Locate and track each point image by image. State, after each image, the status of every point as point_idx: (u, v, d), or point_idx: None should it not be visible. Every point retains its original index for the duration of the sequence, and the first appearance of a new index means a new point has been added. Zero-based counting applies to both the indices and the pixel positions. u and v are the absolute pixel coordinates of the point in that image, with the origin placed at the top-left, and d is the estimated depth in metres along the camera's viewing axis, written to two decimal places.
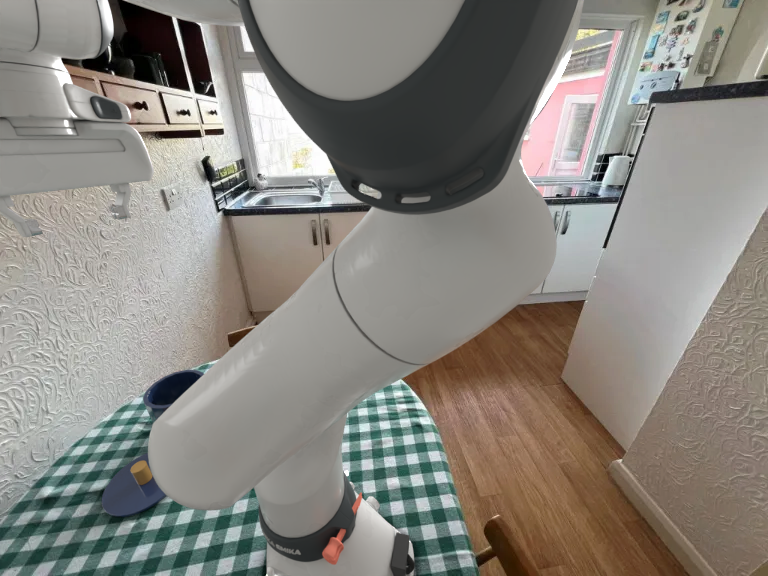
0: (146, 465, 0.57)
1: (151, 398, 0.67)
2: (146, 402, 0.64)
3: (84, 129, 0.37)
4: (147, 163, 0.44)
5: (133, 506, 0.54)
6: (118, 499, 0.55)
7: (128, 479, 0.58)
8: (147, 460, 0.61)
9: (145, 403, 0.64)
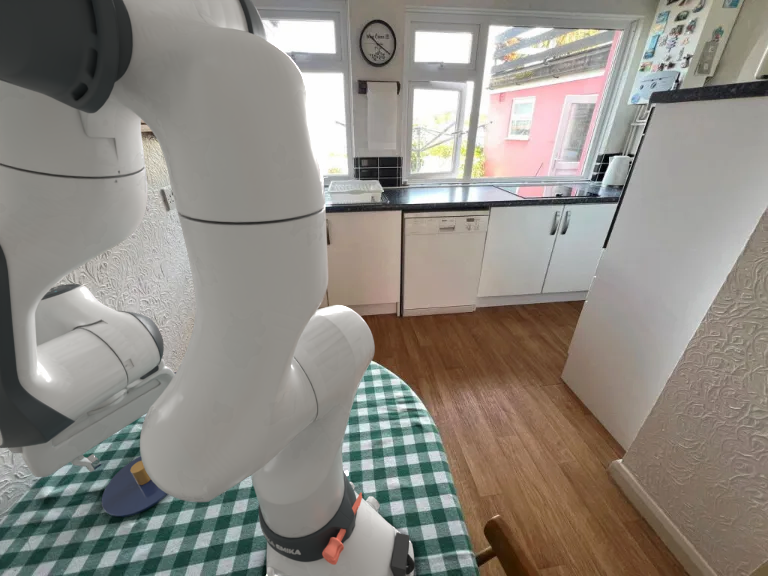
0: None
1: None
2: None
3: (132, 388, 0.51)
4: None
5: (133, 506, 0.54)
6: (118, 499, 0.55)
7: (128, 479, 0.58)
8: None
9: None
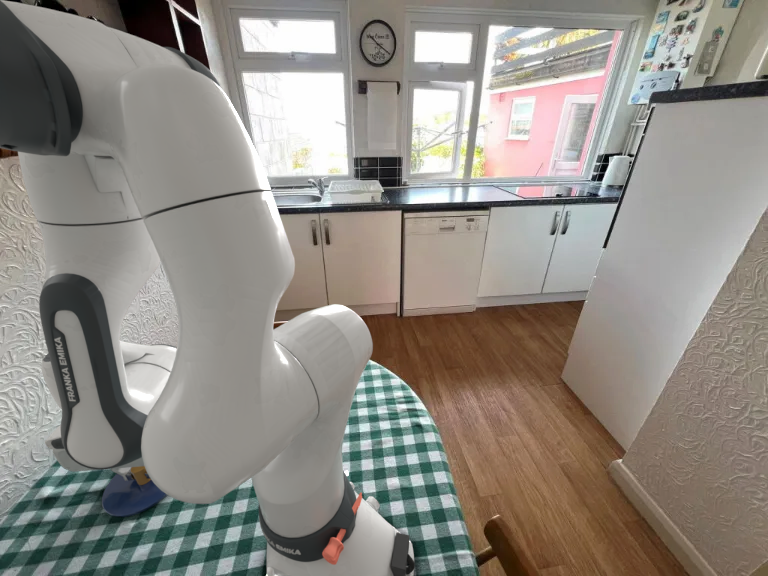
0: None
1: None
2: None
3: None
4: None
5: (133, 506, 0.54)
6: (118, 499, 0.55)
7: None
8: None
9: None
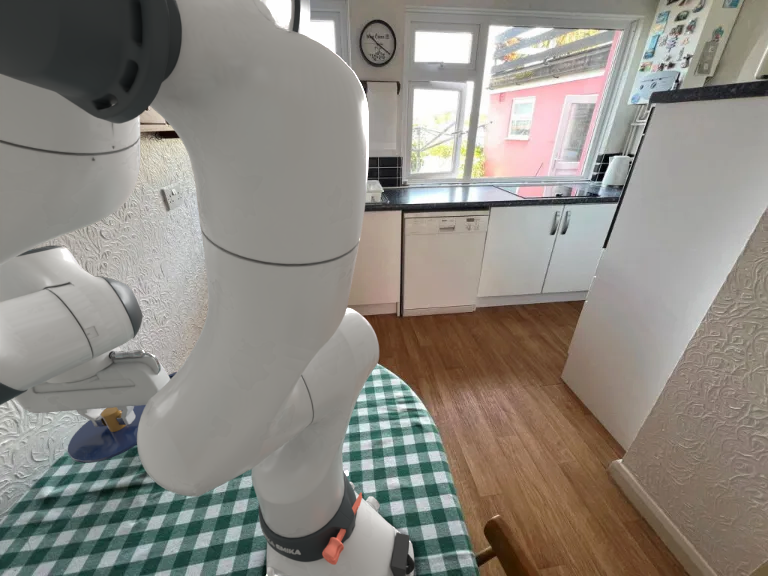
0: None
1: None
2: None
3: None
4: None
5: (102, 452, 0.48)
6: (86, 445, 0.49)
7: None
8: None
9: None
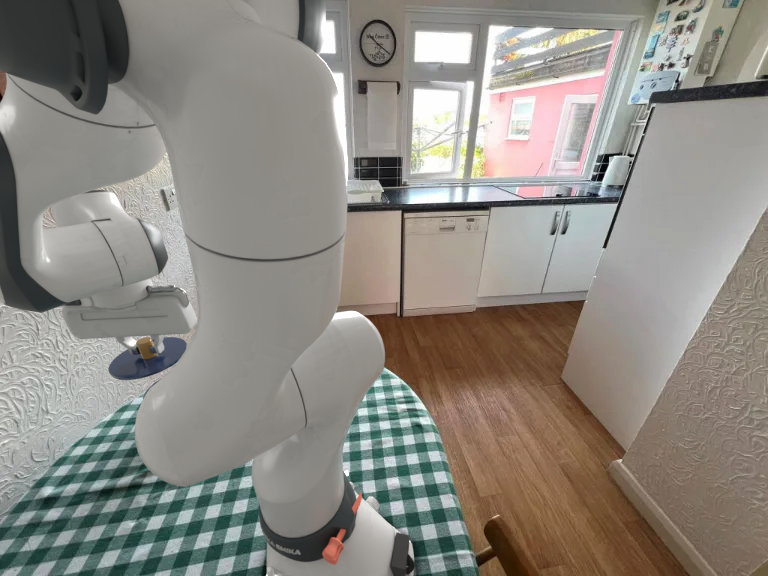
0: (151, 340, 0.59)
1: None
2: None
3: None
4: None
5: (139, 372, 0.56)
6: (124, 368, 0.57)
7: (133, 356, 0.60)
8: None
9: None
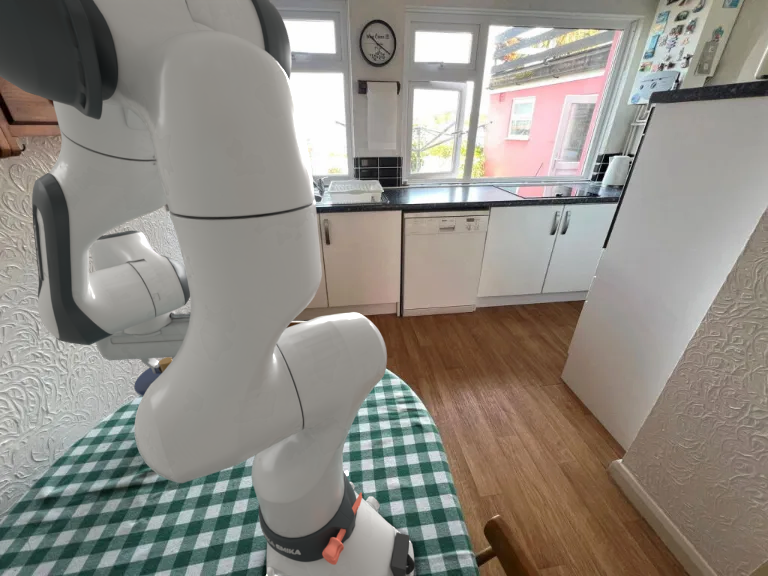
0: None
1: None
2: None
3: None
4: None
5: None
6: (148, 386, 0.63)
7: (156, 374, 0.66)
8: None
9: None
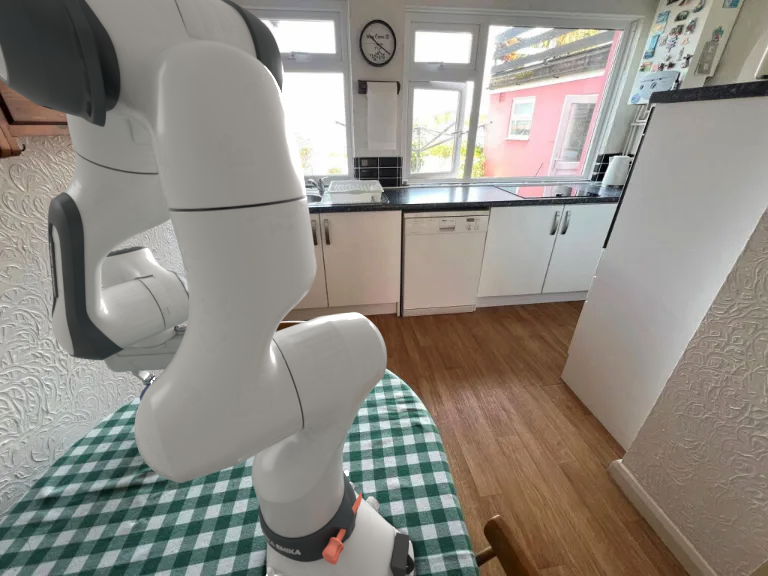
0: None
1: None
2: None
3: None
4: None
5: None
6: None
7: None
8: None
9: None
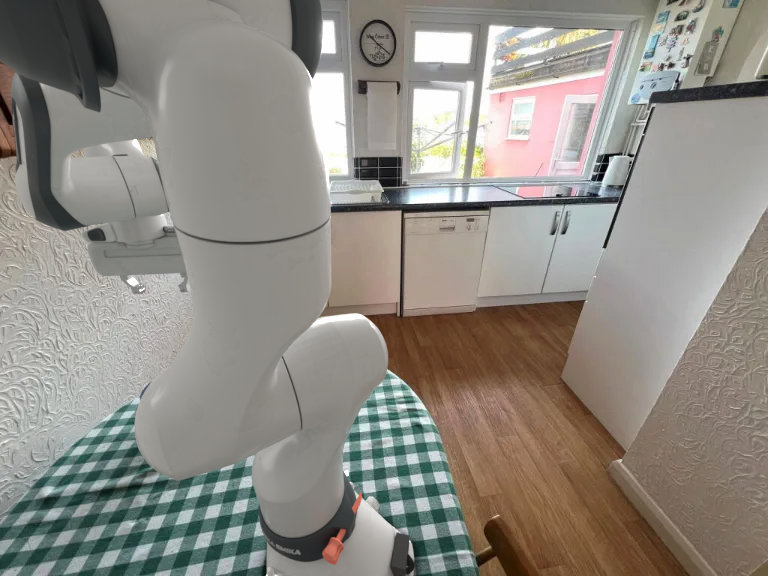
0: None
1: None
2: None
3: None
4: None
5: None
6: None
7: None
8: None
9: None
